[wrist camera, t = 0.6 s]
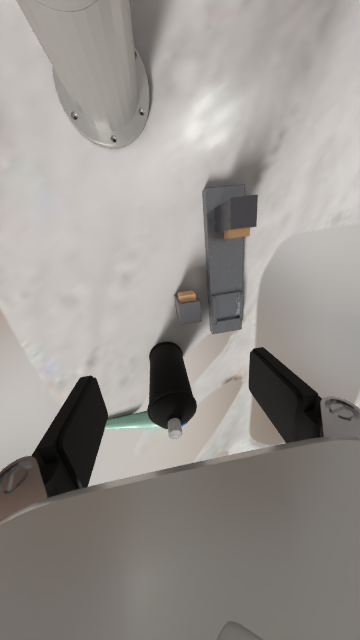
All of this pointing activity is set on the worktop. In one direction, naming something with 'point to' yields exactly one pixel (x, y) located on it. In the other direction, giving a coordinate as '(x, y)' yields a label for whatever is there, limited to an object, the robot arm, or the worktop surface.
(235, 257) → the rail
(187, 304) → the dark grey block
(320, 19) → the worktop surface
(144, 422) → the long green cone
